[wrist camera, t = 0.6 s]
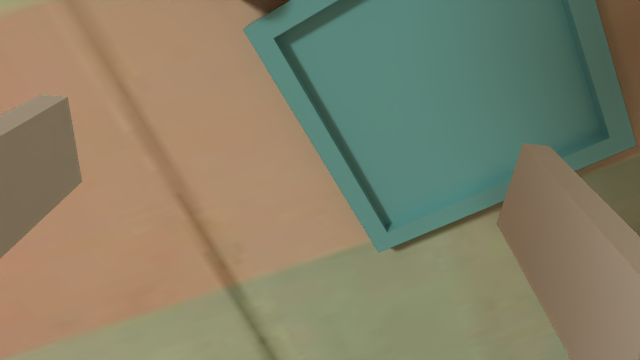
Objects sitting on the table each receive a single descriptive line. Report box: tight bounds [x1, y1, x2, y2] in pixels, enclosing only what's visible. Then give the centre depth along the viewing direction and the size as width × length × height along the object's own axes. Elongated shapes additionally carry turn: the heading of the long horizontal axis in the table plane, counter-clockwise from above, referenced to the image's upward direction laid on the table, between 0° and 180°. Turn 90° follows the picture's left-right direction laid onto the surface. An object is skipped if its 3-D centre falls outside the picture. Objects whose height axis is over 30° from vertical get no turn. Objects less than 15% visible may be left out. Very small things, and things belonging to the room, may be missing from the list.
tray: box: [243, 0, 637, 252], centre depth 35 cm, size 22×22×2 cm
